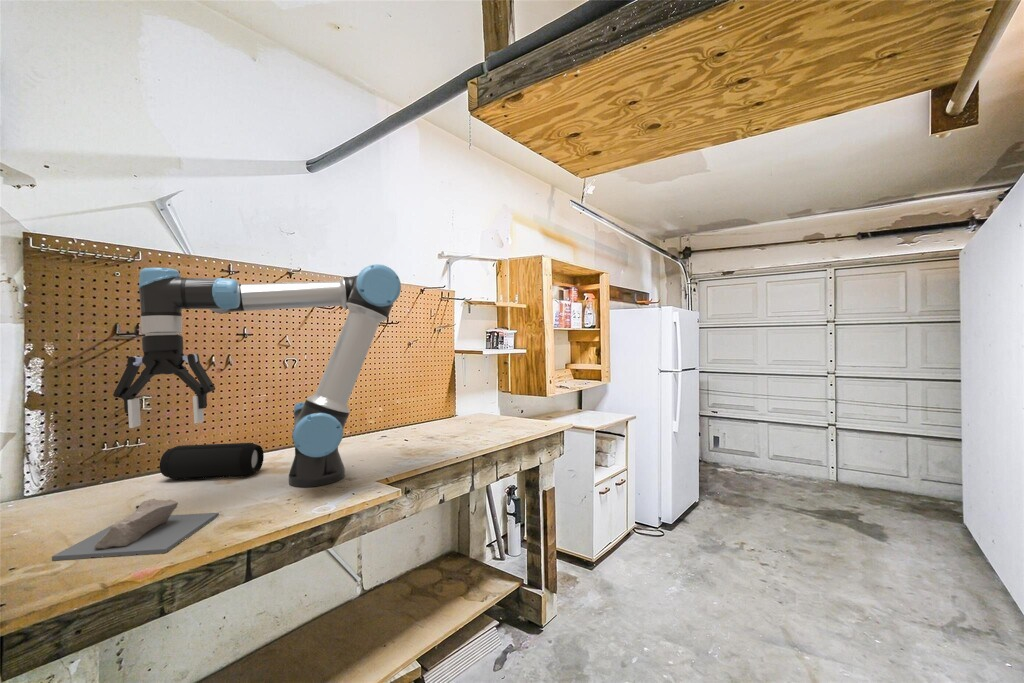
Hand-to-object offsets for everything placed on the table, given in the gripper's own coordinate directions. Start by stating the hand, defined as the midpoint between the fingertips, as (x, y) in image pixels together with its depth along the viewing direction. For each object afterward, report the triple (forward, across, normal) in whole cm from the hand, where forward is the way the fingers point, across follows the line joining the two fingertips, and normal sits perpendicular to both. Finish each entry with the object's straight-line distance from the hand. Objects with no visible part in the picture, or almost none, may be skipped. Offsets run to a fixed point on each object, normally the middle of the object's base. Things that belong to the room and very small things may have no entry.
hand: (167, 424), depth 102 cm
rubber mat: (+22, -1, +11) cm, 24 cm away
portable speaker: (+22, +6, -32) cm, 39 cm away
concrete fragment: (+21, 0, +12) cm, 24 cm away
